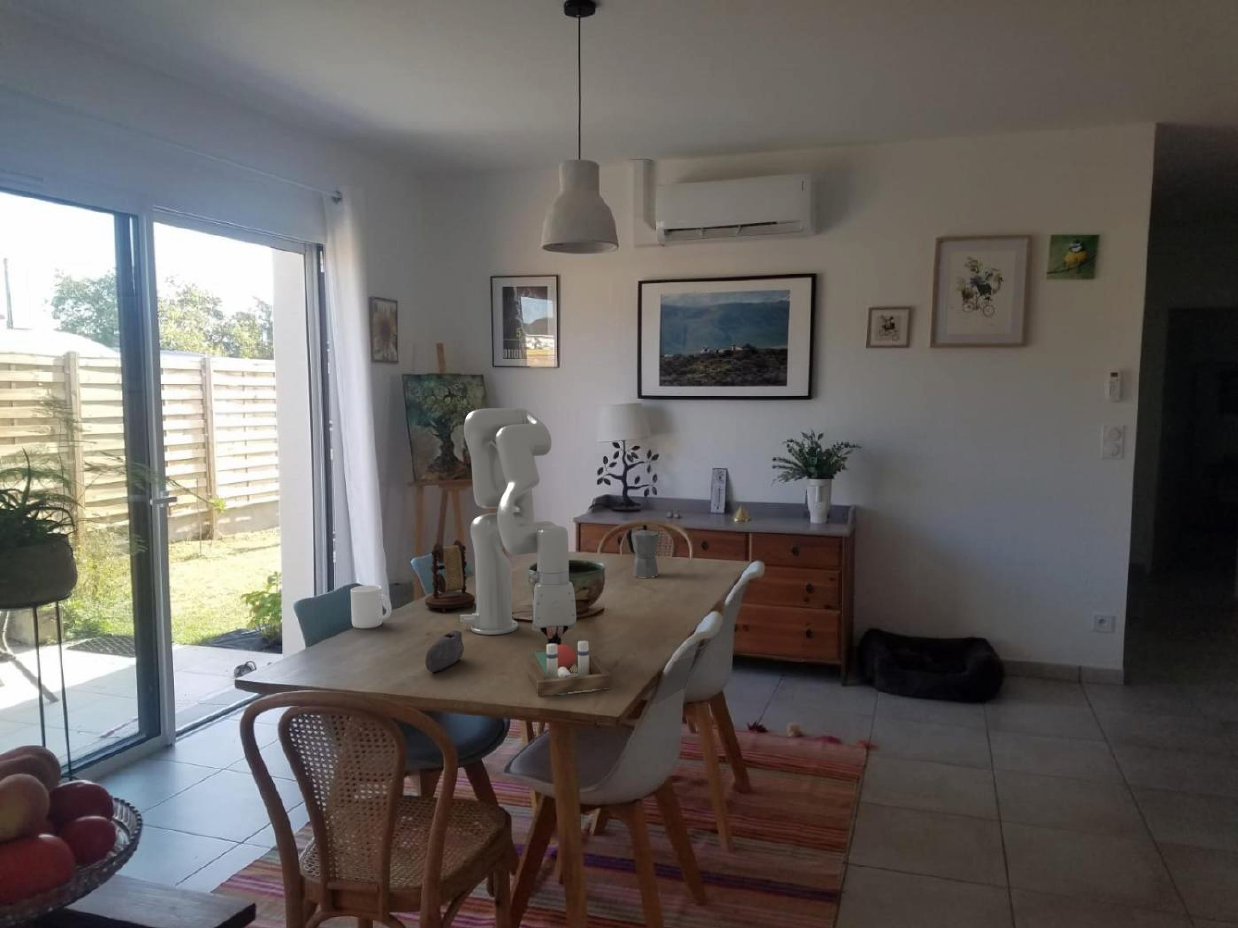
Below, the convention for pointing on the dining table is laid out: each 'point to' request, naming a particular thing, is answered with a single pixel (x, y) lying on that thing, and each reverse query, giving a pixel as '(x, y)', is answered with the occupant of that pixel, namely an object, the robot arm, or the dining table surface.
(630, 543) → the coffeepot
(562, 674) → the pin front
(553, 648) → the pin left
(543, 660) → the strip
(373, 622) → the mug
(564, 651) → the ball
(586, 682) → the backstop
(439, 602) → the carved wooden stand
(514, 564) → the dining table surface
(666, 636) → the dining table surface
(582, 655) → the pin right
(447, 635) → the perforated stone tool
